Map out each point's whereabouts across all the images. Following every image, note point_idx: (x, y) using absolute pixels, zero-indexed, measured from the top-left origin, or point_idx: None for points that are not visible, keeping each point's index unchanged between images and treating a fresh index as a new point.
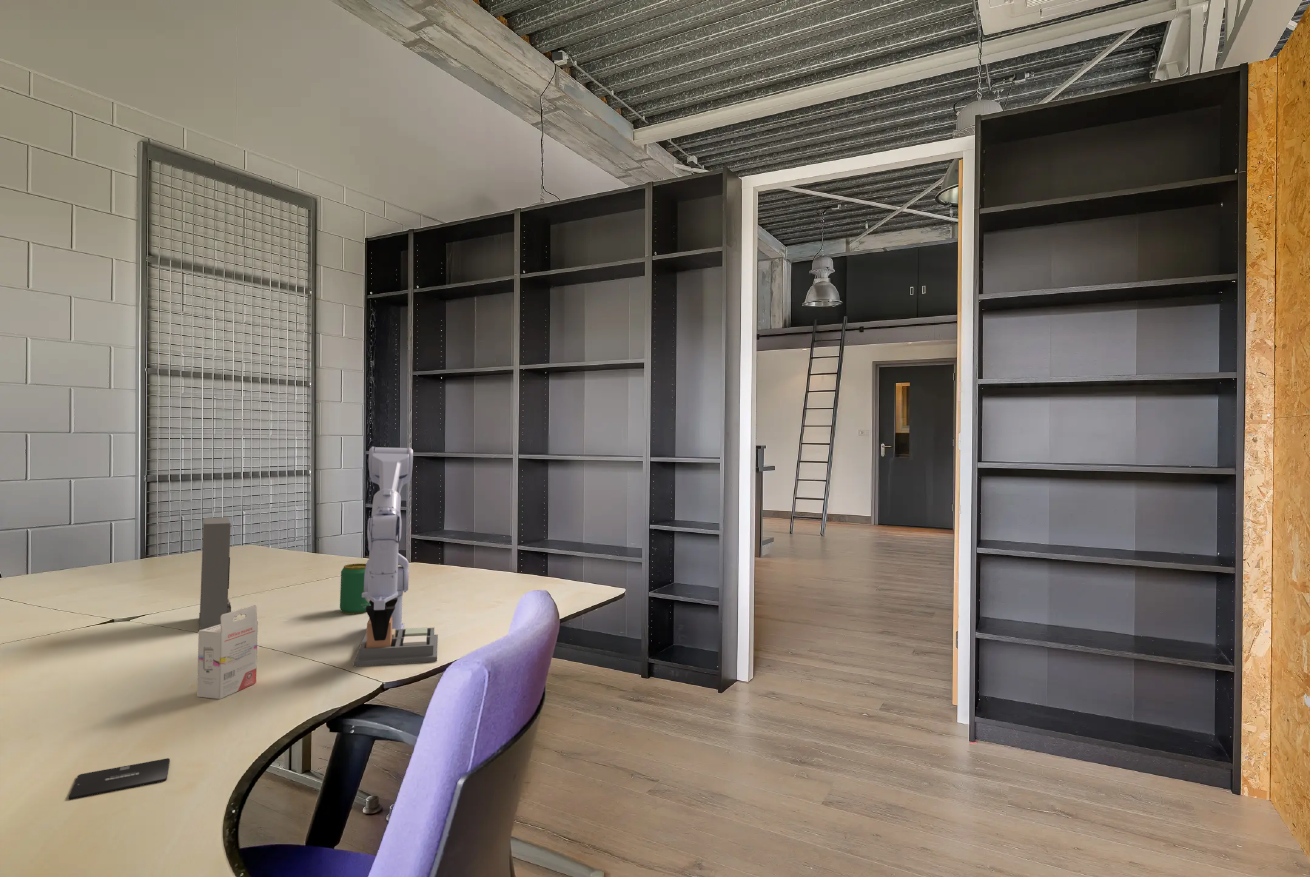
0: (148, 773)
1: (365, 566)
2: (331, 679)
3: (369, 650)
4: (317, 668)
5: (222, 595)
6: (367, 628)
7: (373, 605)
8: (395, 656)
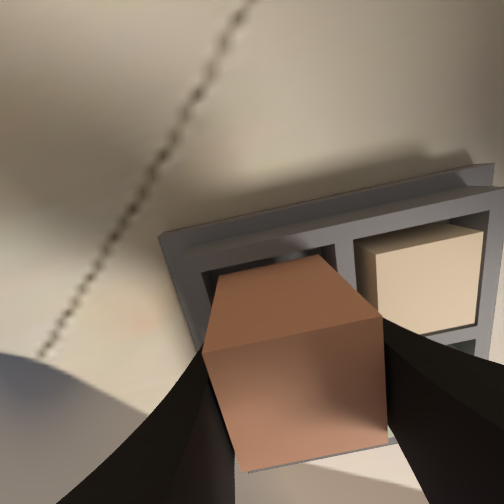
0: None
1: None
2: (12, 203)
3: (191, 296)
4: (125, 91)
5: None
6: (207, 333)
7: (499, 453)
8: None
